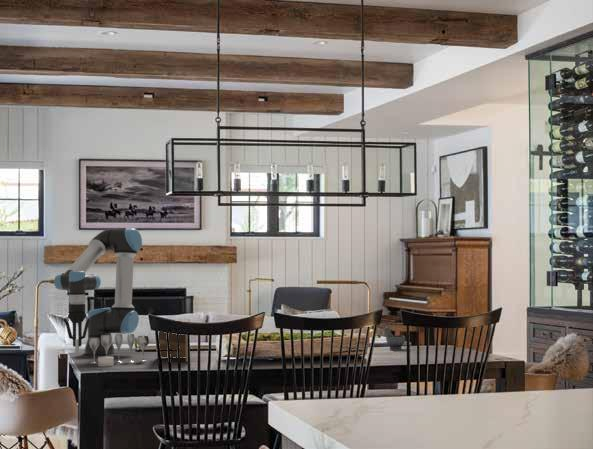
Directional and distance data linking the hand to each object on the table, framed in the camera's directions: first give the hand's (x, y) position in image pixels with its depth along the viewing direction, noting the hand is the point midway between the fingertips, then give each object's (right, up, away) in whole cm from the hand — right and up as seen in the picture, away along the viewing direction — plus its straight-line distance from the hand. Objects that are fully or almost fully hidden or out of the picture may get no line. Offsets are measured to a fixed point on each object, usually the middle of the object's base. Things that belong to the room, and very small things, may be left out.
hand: (77, 353), depth 452 cm
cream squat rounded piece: (+16, -4, -12) cm, 20 cm away
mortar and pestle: (+155, -5, +48) cm, 162 cm away
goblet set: (+20, -5, +2) cm, 20 cm away
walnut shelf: (+45, -4, +4) cm, 45 cm away
